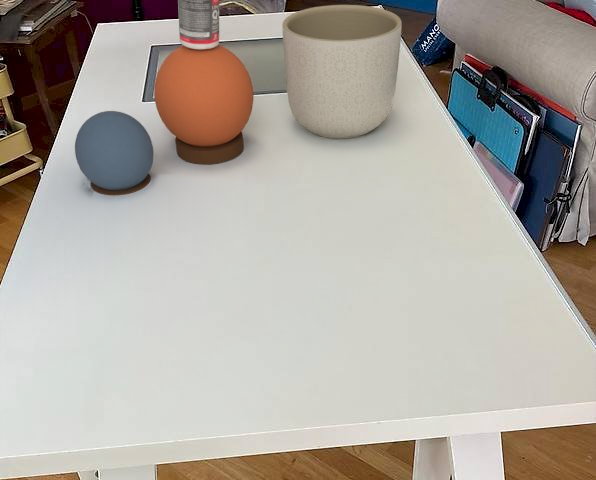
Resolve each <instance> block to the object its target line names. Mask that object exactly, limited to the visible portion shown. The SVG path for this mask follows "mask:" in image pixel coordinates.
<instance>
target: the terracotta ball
mask: <svg viewBox="0 0 596 480" xmlns="http://www.w3.org/2000/svg"><path fill="white" fill-rule="evenodd" d="M153 91H154V93H153V95H154V102H155V107H156V110H157V113H158V115H159V118H160V120H161V122H162V123H163V124H164V126H165V127H166V129H167V130H168V131H169V132H170V133H171V134H172V135H173V136H174V141H175V143H174V144H175V150H176V154H177V156H178V157H179V158H180V159H181V160H182V161H184V162H187V163H190V164H194V165H216V164H223V163H226V162H230V161H232V160H234V159H236V158H237V157H239V156H240V155H242V153H243V152H244V149H245V146H244V144H245V143H244V134H243V130H244V129H245V127H246V125H247V124H248V122H249V120H250V118H251V115H252V111H253V106H254V88H253V83H252V79H251V76H250V73H249V72H248V69H247V68H246V65H244V63H243V62H242V61H241V59H240V58H239V57H238V56H237V55H236V54H235V53H233V52H232V51H231V50H230V49H228V48H227V47H224V46H223V45H221V44H218V45H217V46H216V47H214V48H211V49H201V50H199V49H191V48H188V47H186V46H184V45H181V46H179V47H177V48H176V49H175V50H173V51H171V52H170V53H169V54H168V55H167V56H166V58H165V59H164V60H163V61H162V63H161V65H160V67H159V69H158V71H157V74H156V76H155V80H154V90H153Z"/></svg>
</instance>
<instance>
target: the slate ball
mask: <svg viewBox="0 0 596 480" xmlns="http://www.w3.org/2000/svg"><path fill="white" fill-rule="evenodd" d="M74 142H75V143H74V156H75V159H76V162H77V165H78V167H79V169H80V171H81V172H82V174H83V175H84V176H85V177H86V178H87V180H88V181H89V182H90V187H91V189H92V190H93V191H94V192H95V193H97V194H100V195H104V196H111V197H112V196H113V197H115V196H125V195H130V194H133V193H137V192H139V191H142V190H143V189H144V188H146V187H147V186H148V185H149V184H150V182H151V177H152V176H151V175H150V171H151V169H152V166H153V163H154V147H153V146H154V145H153V142H152V139H151V136H150V134H149V132H148V131H147V129H146V127H144V125H143V124H142V123H141V122H140V121H139V120H138V119H136V118H135V117H133V116H131V115H130V114H128V113H125V112H122V111H117V110H106V111H105V110H104V111H101V112H98V113H95V114H93V115H92V116H90V117H89V118H88V119H86V120H85V121H84V122H83V123H82V125H81V126H80V128H79V129H78V131H77V134H76V136H75V141H74Z"/></svg>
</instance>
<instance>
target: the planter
mask: <svg viewBox="0 0 596 480" xmlns="http://www.w3.org/2000/svg"><path fill="white" fill-rule="evenodd" d="M402 26H403V23H402V19H401V17H399V16H398V15H397V14H395V13H394V12H391V11H389V10H386V9H383V8H380V7H375V6H368V5H360V4H359V5H358V4H331V5H321V6H314V7H308V8H305V9H301V10H299V11H296V12H293V13H291V14H290V15H288V16H286V17H285V18H284V20H283V21H282V45H283V61H284V62H283V63H284V75H285V86H286V95H287V100H288V105H289V109H290V111H291V114H292V115H293V117H294V118H295V120H296V121H297V122H298V124H300V125H301V126H302V127H303V128H305V129H306V130H307V131H309V132H311V133H312V134H315V135H317V136H320V137H324V138H327V139H328V138H329V139H351V138H357V137H360V136H363V135H366V134H368V133H370V132H372V131H373V130H374V129H376V128H377V127H378V126H380V125H381V124H382V123H383V122H385V120H386V118H387V117H388V115H389V114H390V112H391V110H392V107H393V104H394V100H395V94H396V90H397V89H396V88H397V81H398V71H399V62H400V61H399V60H400V51H401V49H400V48H401V41H402V40H401V38H402V29H403V28H402Z"/></svg>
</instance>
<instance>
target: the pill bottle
mask: <svg viewBox="0 0 596 480" xmlns="http://www.w3.org/2000/svg"><path fill="white" fill-rule="evenodd" d="M177 5H178V7H177V8H178V34H179V35H178V36H179V42H180V44H181V46H183V45H184V46H186V47H188V48H191V49H199V50H201V49H211V48H214V47H216V46H217V45H220V0H177Z"/></svg>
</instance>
